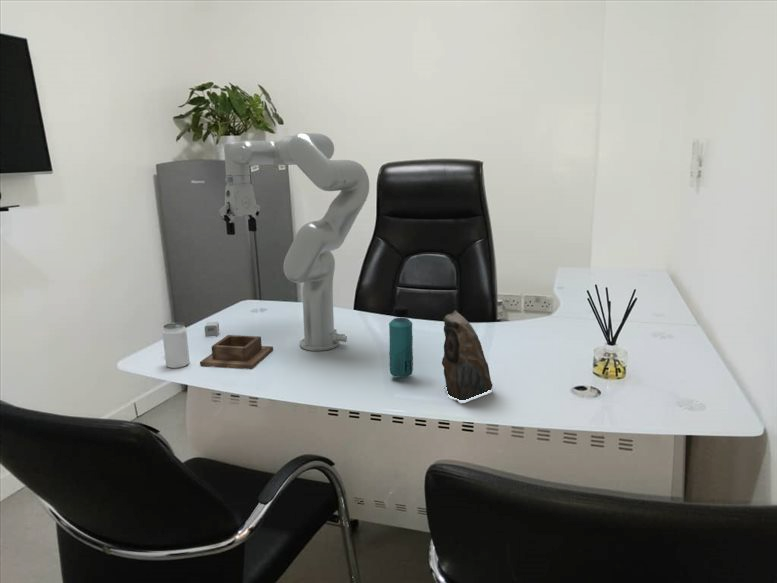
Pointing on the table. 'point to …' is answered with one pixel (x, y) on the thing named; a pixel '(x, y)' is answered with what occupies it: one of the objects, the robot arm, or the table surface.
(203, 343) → the table surface
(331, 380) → the table surface
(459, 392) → the owl
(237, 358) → the holder
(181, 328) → the can
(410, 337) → the beverage bottle
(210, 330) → the usb wall charger
